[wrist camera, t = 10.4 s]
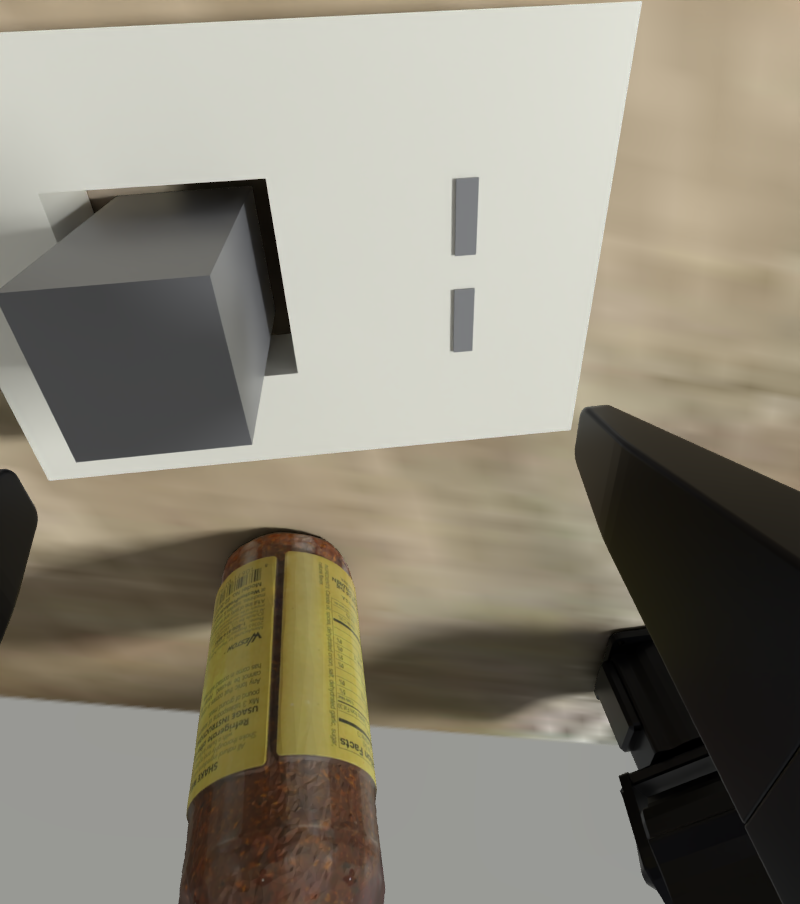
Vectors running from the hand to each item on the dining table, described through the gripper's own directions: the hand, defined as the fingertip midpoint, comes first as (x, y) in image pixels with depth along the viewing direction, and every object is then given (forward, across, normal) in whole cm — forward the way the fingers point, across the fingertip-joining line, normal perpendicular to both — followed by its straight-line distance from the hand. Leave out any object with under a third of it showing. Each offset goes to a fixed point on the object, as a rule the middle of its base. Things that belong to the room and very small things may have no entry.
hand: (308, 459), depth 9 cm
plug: (+12, +4, 0) cm, 12 cm away
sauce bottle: (+12, +3, +15) cm, 19 cm away
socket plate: (+12, +1, 0) cm, 12 cm away
